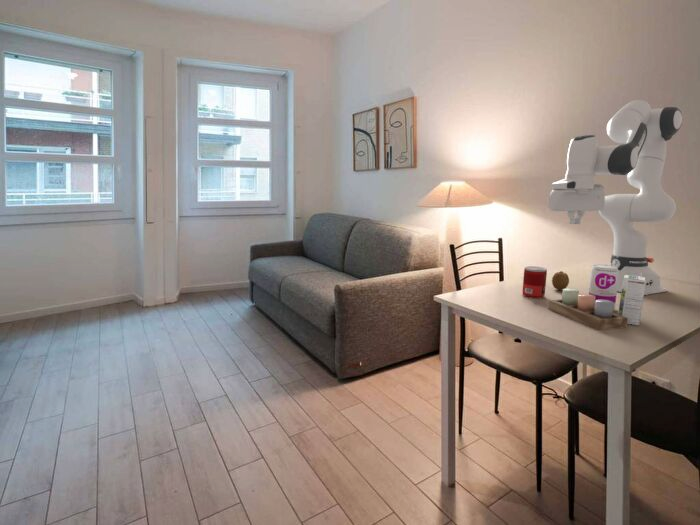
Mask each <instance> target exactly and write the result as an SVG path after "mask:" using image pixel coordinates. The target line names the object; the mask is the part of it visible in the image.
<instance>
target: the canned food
mask: <svg viewBox="0 0 700 525" xmlns="http://www.w3.org/2000/svg"><path fill="white" fill-rule="evenodd" d="M523 269H524V270H523V278H522V279H523V282H522V295H523V296H524V297H526V298H530V297H531V298H532V299H542V298H543V299H544V297H545V294H546V287H547V286H546V285H547V275H548V273H547V272H548V269H547V268H546V267H542V266H532V265H531V266H530V265H529V266H524V268H523Z"/></svg>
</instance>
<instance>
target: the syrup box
mask: <svg viewBox="0 0 700 525" xmlns="http://www.w3.org/2000/svg"><path fill="white" fill-rule="evenodd" d="M645 284H646V278H645V277H640V276H633V275H625V276H624V281H623V286H622V291H621V292H620V298H619V307H618V313H617V314H618V315H621V316H624V317H627V318H628V320H627V325H631V324H632V325H633V326H638V325H639V326H640V321H641V316H642V315H641V314H642V311H643V302H644V297H645V295H644V291H645ZM632 325H631V326H632Z"/></svg>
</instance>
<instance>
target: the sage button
mask: <svg viewBox="0 0 700 525" xmlns="http://www.w3.org/2000/svg"><path fill="white" fill-rule="evenodd" d="M579 292H580V291H579V290H578V289H575V288H565V289H563V290H562V294H561V299H562V303H563V304H566V305H568V306H569V305H577V303H578V294H580V293H579Z"/></svg>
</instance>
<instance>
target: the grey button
mask: <svg viewBox="0 0 700 525" xmlns="http://www.w3.org/2000/svg"><path fill="white" fill-rule="evenodd" d="M613 306H614V302H612V301H609V300H602V299H598V300H595V309H594V316H597V317H600V318H602V319H605V318H612V314H613V313H614V309H613Z"/></svg>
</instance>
